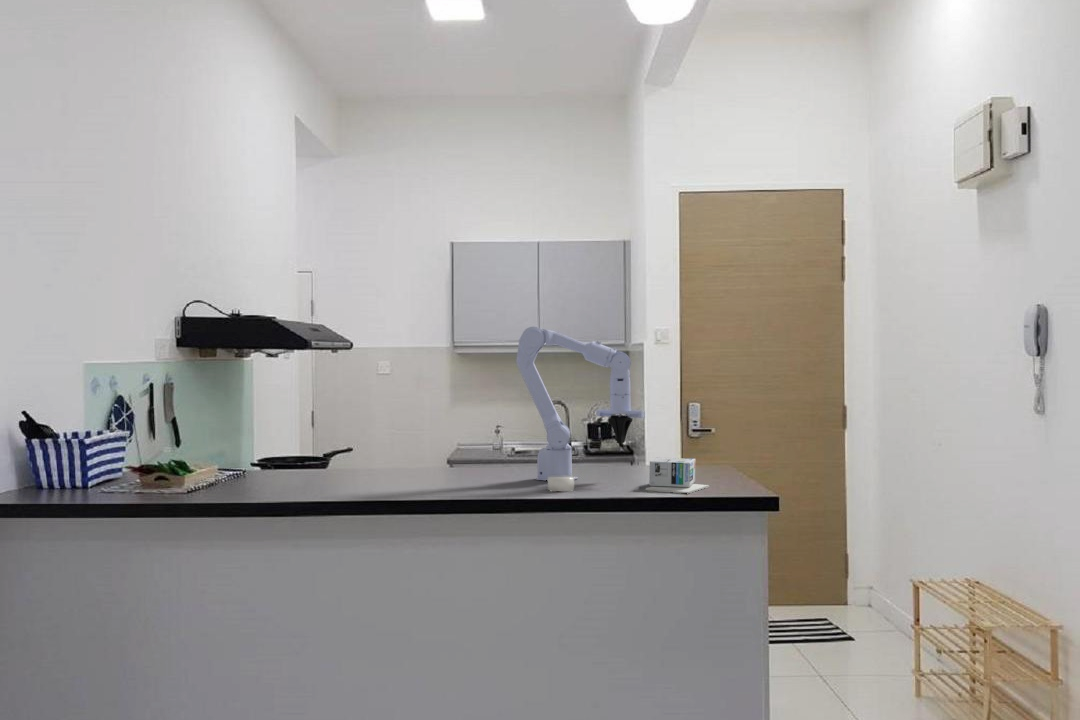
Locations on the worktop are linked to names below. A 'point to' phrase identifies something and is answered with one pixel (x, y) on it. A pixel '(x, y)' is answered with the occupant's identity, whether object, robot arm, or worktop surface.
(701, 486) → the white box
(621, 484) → the worktop surface
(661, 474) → the light bulb box
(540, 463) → the robot arm
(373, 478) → the worktop surface
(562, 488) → the pale rounded bar
